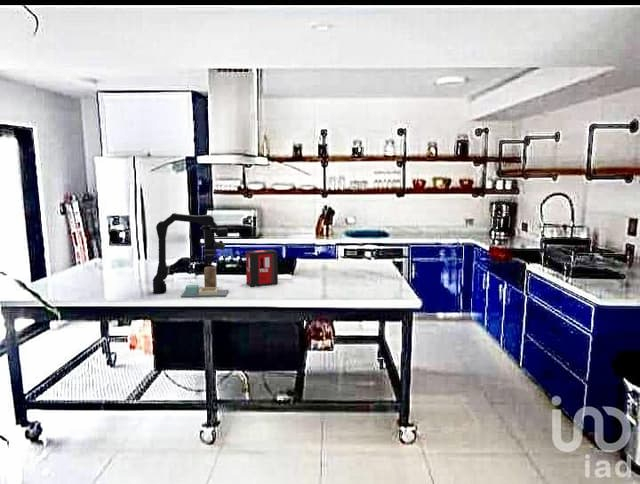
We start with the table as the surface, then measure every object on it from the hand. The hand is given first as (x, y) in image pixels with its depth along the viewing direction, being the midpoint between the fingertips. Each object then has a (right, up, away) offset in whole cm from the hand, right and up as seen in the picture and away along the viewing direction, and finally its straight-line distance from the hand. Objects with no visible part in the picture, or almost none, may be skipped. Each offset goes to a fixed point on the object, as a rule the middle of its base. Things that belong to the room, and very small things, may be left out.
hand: (210, 264), depth 290 cm
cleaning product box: (+27, -13, +17) cm, 34 cm away
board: (-1, -16, -8) cm, 18 cm away
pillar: (-1, -14, +5) cm, 15 cm away
